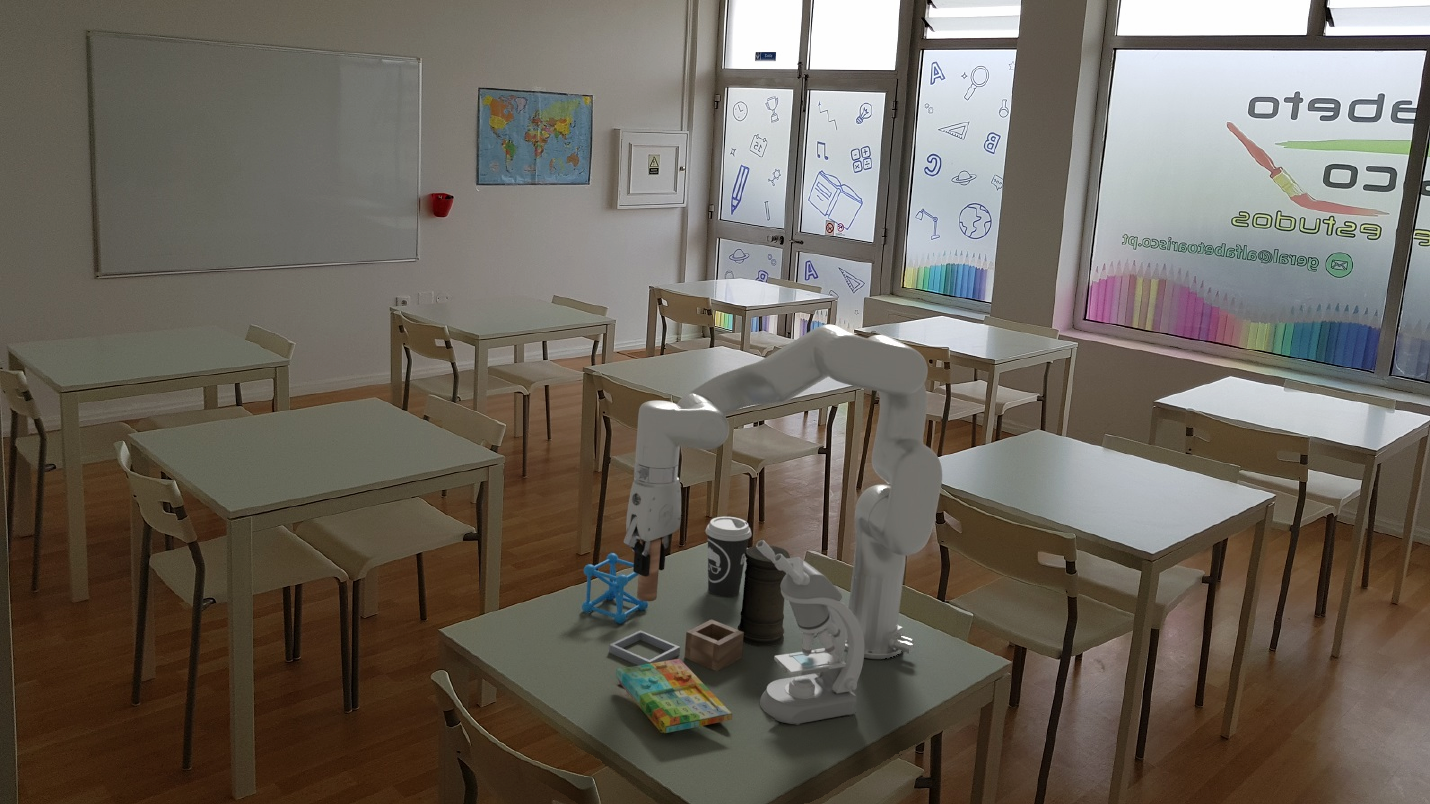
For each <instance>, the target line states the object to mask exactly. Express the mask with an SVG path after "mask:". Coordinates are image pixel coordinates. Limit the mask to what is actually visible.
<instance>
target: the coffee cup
mask: <svg viewBox="0 0 1430 804" xmlns="http://www.w3.org/2000/svg"><path fill="white" fill-rule="evenodd" d="M705 534H706V535H707V579H708V583H707V585H708V589H707V590H708V592H709V593H711V594H712V595H714V596H716V597H724V598H730V597H735V596H737V595H739V593H740V589H741V585H742V584H741V583H742V578H743V571H744V567H745V562H746V557H745V552H746V550H747V549H748V544H749V539H750V538H751V537H752V530H751V527H750V526H749V523H748V522H747V521H746V520H744V519H742V518H739V517H734V516H718V517H714V518H712V519H710V521H709V523H708V524H707V526H706V529H705Z"/></svg>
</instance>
